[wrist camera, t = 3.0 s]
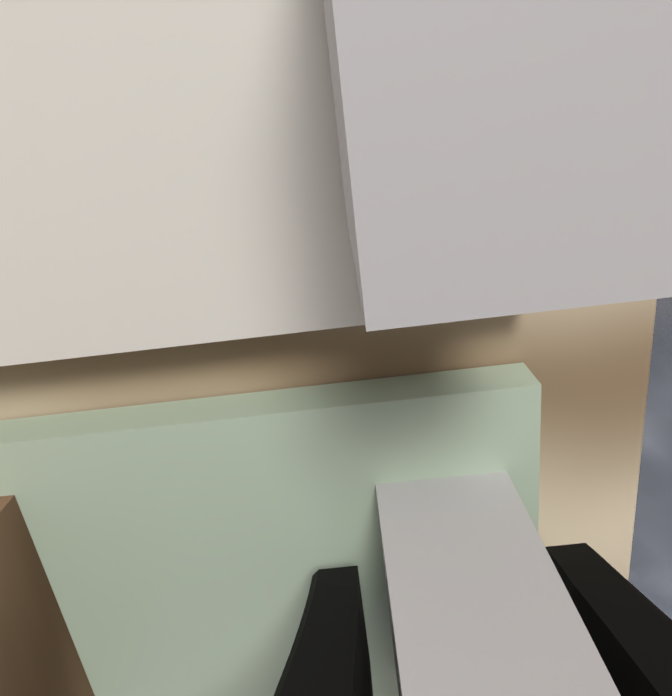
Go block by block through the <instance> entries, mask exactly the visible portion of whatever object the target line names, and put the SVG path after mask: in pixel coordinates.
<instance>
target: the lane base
mask: <svg viewBox="0 0 672 696" xmlns="http://www.w3.org/2000/svg"><path fill="white" fill-rule="evenodd" d="M656 301H657V299H650V300H641V301H632V302H623V303H614V304H606V305H597V306H588V307H579V308H570V309H562V310H553V311H544V312H535V313H526V314H518V315H509V316H500V317H491V318H482V319H474V320H465V321H456V322H447V323H438V324H430V325H421V326H412V327H403V328H394V329H386V330H377V331H368V332H366V327H365V325H360V326H351V327H342V328H333V329H325V330H316V331H307V332H298V333H290V334H281V335H272V336H263V337H254V338H246V339H237V340H228V341H219V342H211V343H202V344H193V345H184V346H176V347H167V348H158V349H149V350H140V351H132V352H123V353H114V354H105V355H97V356H88V357H79V358H70V359H62V360H53V361H44V362H35V363H26V364H18V365H9V366H0V420H7V419H16V418H25V417H34V416H43V415H53V414H62V413H71V412H80V411H89V410H98V409H107V408H116V407H125V406H134V405H143V404H152V403H161V402H170V401H179V400H188V399H197V398H206V397H215V396H224V395H233V394H242V393H251V392H260V391H269V390H278V389H287V388H296V387H305V386H314V385H323V384H332V383H341V382H350V381H359V380H369V379H378V378H387V377H396V376H405V375H414V374H423V373H432V372H441V371H450V370H459V369H468V368H477V367H486V366H495V365H504V364H513V363H522V362H524V364H525V365H526V366H527V367H528V369H529V370H530V371H531V372H532V374H533V375H534V376H535V377H536V379H537V380H538V381H539V382H540V383H541V429H540V474H539V519H538V534H539V536H540V538H541V540H542V542H543V544H544V546H545V547H548V546H558V545H568V544H578V543H587V544H588V545H589V546H590V547H591V548H593V549H594V550H595V551H596V552H597V553H598V554H599V555H600V556H601V557H603V558H604V559H605V560H606V561H607V562H608V563H609V564H610V565H611V566H612V567H613V568H615V569H616V570H617V571H618V572H619V573H620V574H621V575H622V576H623V577H624V578H625V579H627V580H628V578H629V568H630V558H631V548H632V538H633V528H634V518H635V508H636V499H637V489H638V479H639V469H640V459H641V449H642V439H643V429H644V420H645V410H646V400H647V390H648V380H649V370H650V360H651V350H652V340H653V331H654V321H655V311H656Z"/></svg>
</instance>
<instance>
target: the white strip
mask: <svg viewBox="0 0 672 696" xmlns="http://www.w3.org/2000/svg"><path fill="white" fill-rule="evenodd" d="M667 297H672V0H0V366H9V365H18V364H26V363H35V362H44V361H53V360H62V359H70V358H79V357H88V356H97V355H105V354H114V353H123V352H132V351H140V350H149V349H158V348H167V347H176V346H184V345H193V344H202V343H211V342H219V341H228V340H237V339H246V338H254V337H263V336H272V335H281V334H290V333H298V332H307V331H316V330H325V329H333V328H342V327H351V326H360V325H365V327H366V332H368V331H377V330H386V329H394V328H403V327H412V326H421V325H430V324H438V323H447V322H456V321H465V320H474V319H482V318H491V317H500V316H509V315H518V314H526V313H535V312H544V311H553V310H562V309H570V308H579V307H588V306H597V305H606V304H614V303H623V302H632V301H641V300H650V299H658V298H667Z"/></svg>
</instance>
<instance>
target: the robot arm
mask: <svg viewBox="0 0 672 696" xmlns="http://www.w3.org/2000/svg"><path fill="white" fill-rule="evenodd" d="M545 548H546V550H547V552H548V554H549V555H550V557H551V559H552V561H553V563H554V565H555V567H556V569H557V571H558V573H559V575H560V577H561V579H562V581H563V583H564V585H565V587H566V589H567V591H568V593H569V595H570V597H571V599H572V601H573V603H574V605H575V607H576V609H577V611H578V613H579V614H580V616H581V618H582V620H583V622H584V624H585V626H586V628H587V630H588V632H589V634H590V636H591V638H592V640H593V642H594V644H595V646H596V648H597V650H598V652H599V654H600V656H601V658H602V660H603V662H604V664H605V666H606V668H607V670H608V672H609V673H610V675H611V677H612V679H613V681H614V683H615V685H616V687H617V689H618V691H619V693H620V695H621V696H672V620H671V619H670V618H669V617H668V616H667V615H665V614H664V613H663V612H662V611H661V610H660V609H659V608H658V607H657V606H655V605H654V604H653V603H652V602H651V601H650V600H649V599H648V598H646V597H645V596H644V595H643V594H642V593H641V592H640V591H639V590H638V589H636V588H635V587H634V586H633V585H632V584H631V583H630V582H629V581H628V580H627V579H625V578H624V577H623V576H622V575H621V574H620V573H619V572H618V571H617V570H616V569H615V568H613V567H612V566H611V565H610V564H609V563H608V562H607V561H606V560H605V559H604V558H603V557H601V556H600V555H599V554H598V553H597V552H596V551H595V550H594V549H593V548H591V547H590V546H589V545H588V544H587V543H578V544H568V545H558V546H548V547H545ZM274 696H373V689H372V677H371V666H370V656H369V649H368V641H367V634H366V626H365V618H364V611H363V603H362V595H361V588H360V580H359V573H358V565H357V566H347V567H337V568H327V569H319V570H318V571H317V572H316V573H315V574H314V575H313V576H312V580H311V585H310V590H309V594H308V597H307V601H306V605H305V608H304V612H303V615H302V618H301V622H300V625H299V628H298V631H297V634H296V637H295V640H294V643H293V646H292V648H291V651H290V654H289V657H288V659H287V662H286V664H285V667H284V670H283V672H282V675H281V677H280V680H279V683H278V685H277V688H276V690H275V693H274Z"/></svg>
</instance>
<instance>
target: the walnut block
mask: <svg viewBox="0 0 672 696" xmlns="http://www.w3.org/2000/svg"><path fill="white" fill-rule="evenodd" d="M0 696H95V695H94V692H93V690H92V687H91V685H90V682H89V680H88V677H87V675H86V672H85V670H84V667H83V665H82V662H81V660H80V657H79V655H78V652H77V650H76V647H75V645H74V642H73V640H72V637H71V635H70V632H69V630H68V627H67V625H66V622H65V620H64V617H63V615H62V612H61V610H60V607H59V605H58V602H57V600H56V597H55V595H54V592H53V590H52V587H51V585H50V582H49V580H48V577H47V575H46V572H45V570H44V567H43V565H42V562H41V560H40V557H39V555H38V552H37V550H36V547H35V545H34V542H33V540H32V537H31V535H30V532H29V530H28V527H27V525H26V522H25V520H24V517H23V515H22V512H21V510H20V507H19V505H18V502H17V500H16V497H15V495H9V496H0Z"/></svg>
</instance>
